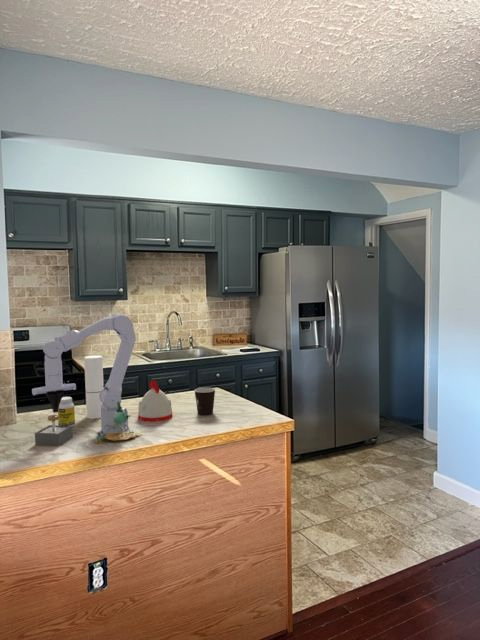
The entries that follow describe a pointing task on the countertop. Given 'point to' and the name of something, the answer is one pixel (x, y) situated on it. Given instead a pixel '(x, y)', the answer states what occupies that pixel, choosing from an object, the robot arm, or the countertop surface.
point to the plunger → (53, 425)
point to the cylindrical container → (93, 385)
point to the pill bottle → (66, 412)
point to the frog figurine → (120, 419)
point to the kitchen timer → (154, 405)
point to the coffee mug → (205, 400)
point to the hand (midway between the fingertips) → (55, 411)
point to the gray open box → (53, 436)
